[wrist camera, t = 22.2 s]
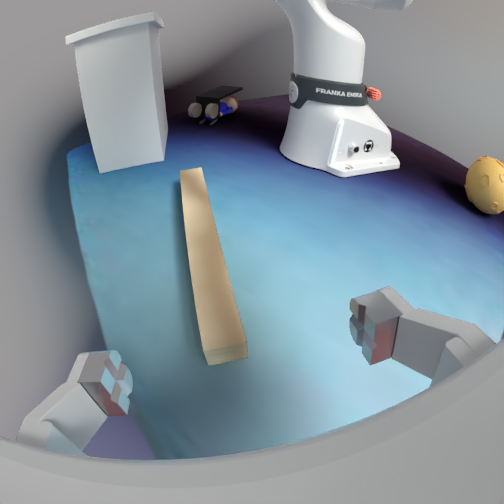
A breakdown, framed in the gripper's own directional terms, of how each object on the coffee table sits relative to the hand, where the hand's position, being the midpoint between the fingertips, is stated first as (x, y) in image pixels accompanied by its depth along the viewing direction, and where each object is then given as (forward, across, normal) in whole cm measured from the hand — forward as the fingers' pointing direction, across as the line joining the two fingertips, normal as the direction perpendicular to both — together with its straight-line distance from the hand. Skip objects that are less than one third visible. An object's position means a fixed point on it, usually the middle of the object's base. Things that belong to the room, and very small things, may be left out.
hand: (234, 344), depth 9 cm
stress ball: (+24, -44, +9) cm, 51 cm away
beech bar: (+19, +2, +2) cm, 20 cm away
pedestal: (+50, +14, -9) cm, 52 cm away
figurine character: (+63, -3, -11) cm, 64 cm away
